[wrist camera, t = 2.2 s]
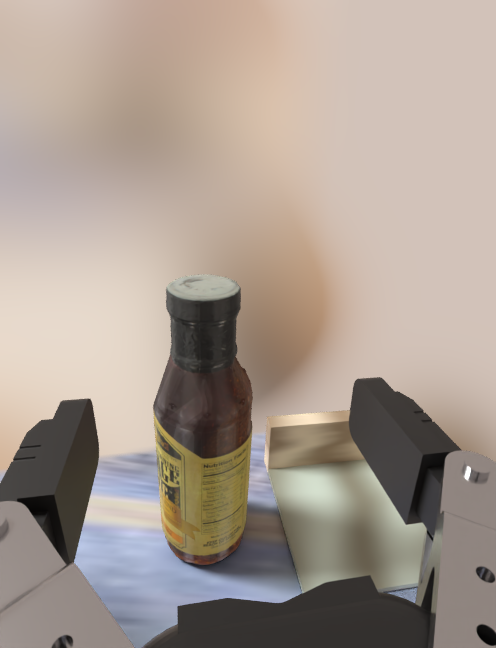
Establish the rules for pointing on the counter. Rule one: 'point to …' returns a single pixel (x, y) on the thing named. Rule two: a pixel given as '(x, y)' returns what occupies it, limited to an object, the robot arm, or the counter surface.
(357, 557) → the beige l-shaped piece
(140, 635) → the counter surface
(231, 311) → the sauce bottle
